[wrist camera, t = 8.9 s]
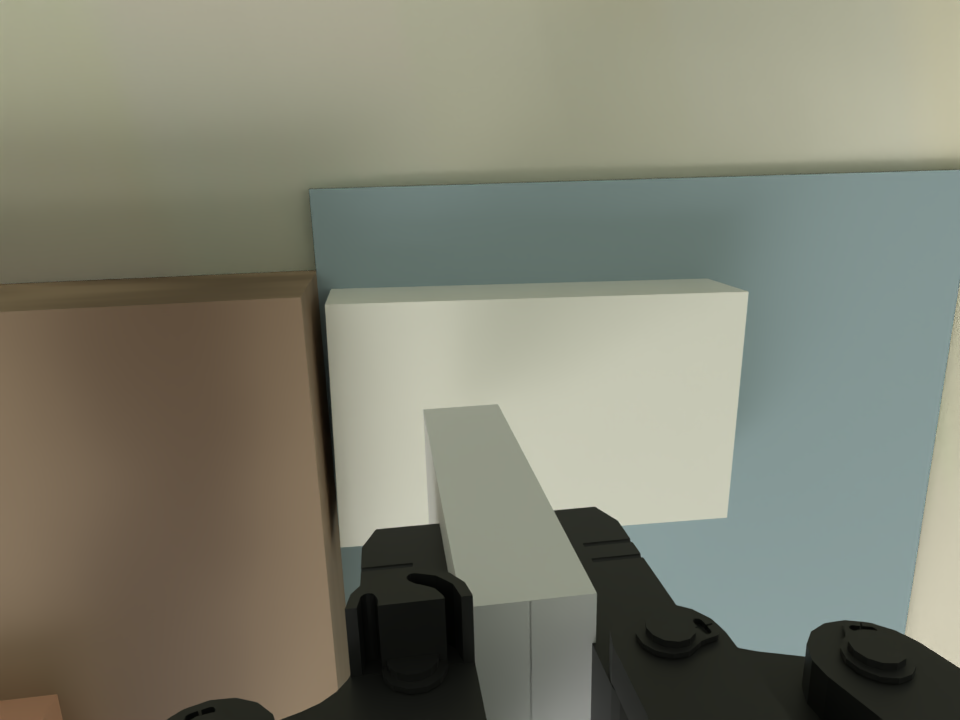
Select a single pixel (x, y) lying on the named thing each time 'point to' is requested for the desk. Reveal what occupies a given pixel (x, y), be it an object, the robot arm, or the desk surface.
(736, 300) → the ivory card
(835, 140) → the desk surface
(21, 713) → the terracotta card
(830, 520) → the mat
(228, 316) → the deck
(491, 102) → the desk surface
